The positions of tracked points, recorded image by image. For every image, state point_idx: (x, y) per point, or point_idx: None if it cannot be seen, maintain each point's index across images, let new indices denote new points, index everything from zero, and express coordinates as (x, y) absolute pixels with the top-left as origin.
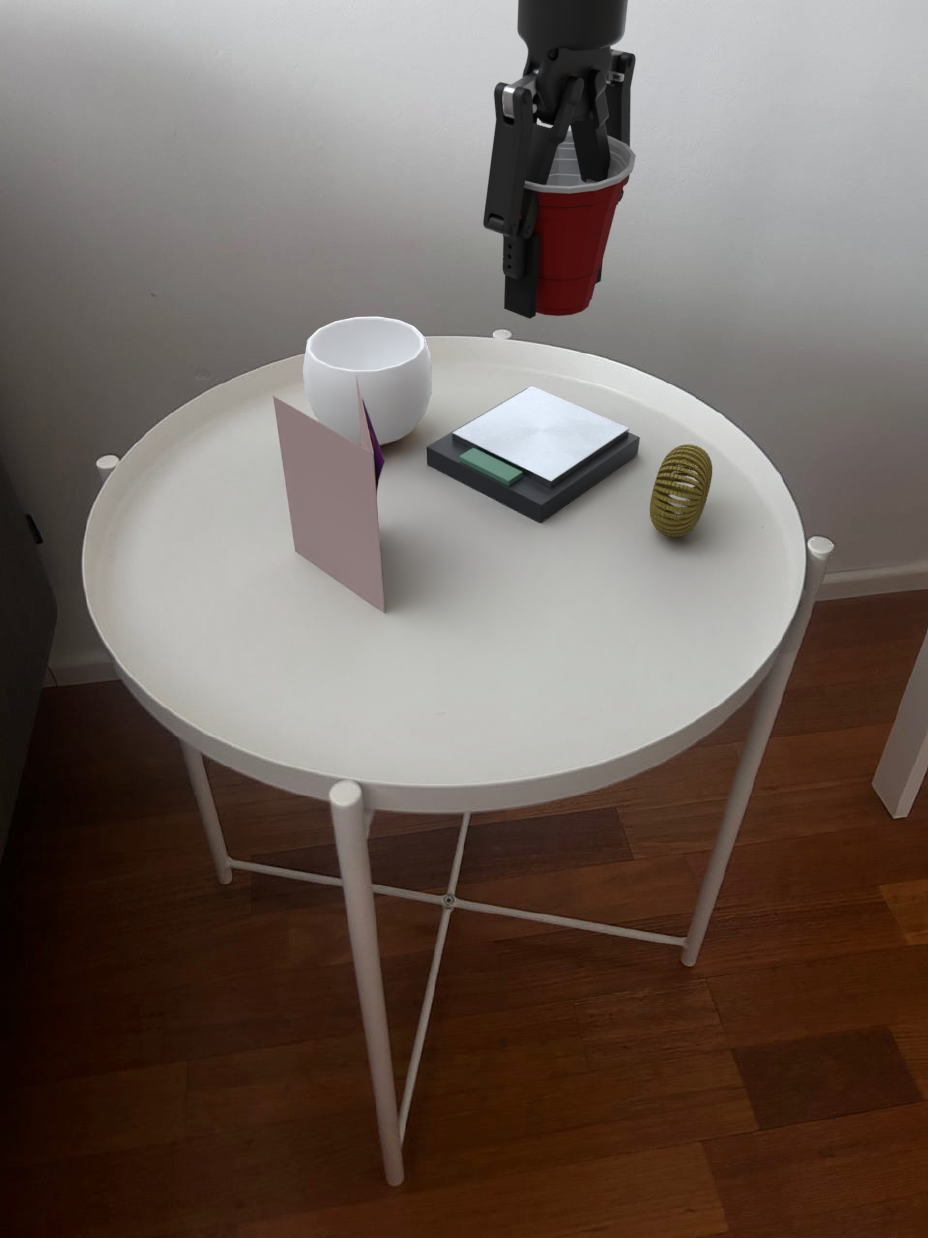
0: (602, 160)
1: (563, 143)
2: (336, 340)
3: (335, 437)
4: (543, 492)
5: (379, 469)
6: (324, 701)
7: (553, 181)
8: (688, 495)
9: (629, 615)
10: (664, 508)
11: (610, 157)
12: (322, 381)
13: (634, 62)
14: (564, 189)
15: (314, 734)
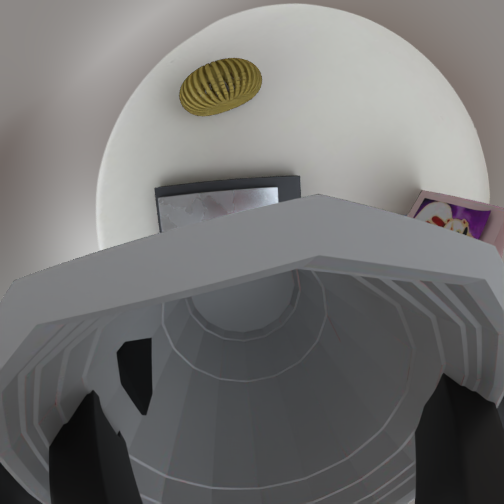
0: (90, 461)
1: None
2: None
3: (499, 251)
4: (285, 187)
5: (484, 214)
6: (465, 169)
7: (180, 467)
8: (247, 60)
9: (326, 70)
10: (261, 76)
11: (50, 447)
12: None
13: None
14: None
15: (474, 159)
